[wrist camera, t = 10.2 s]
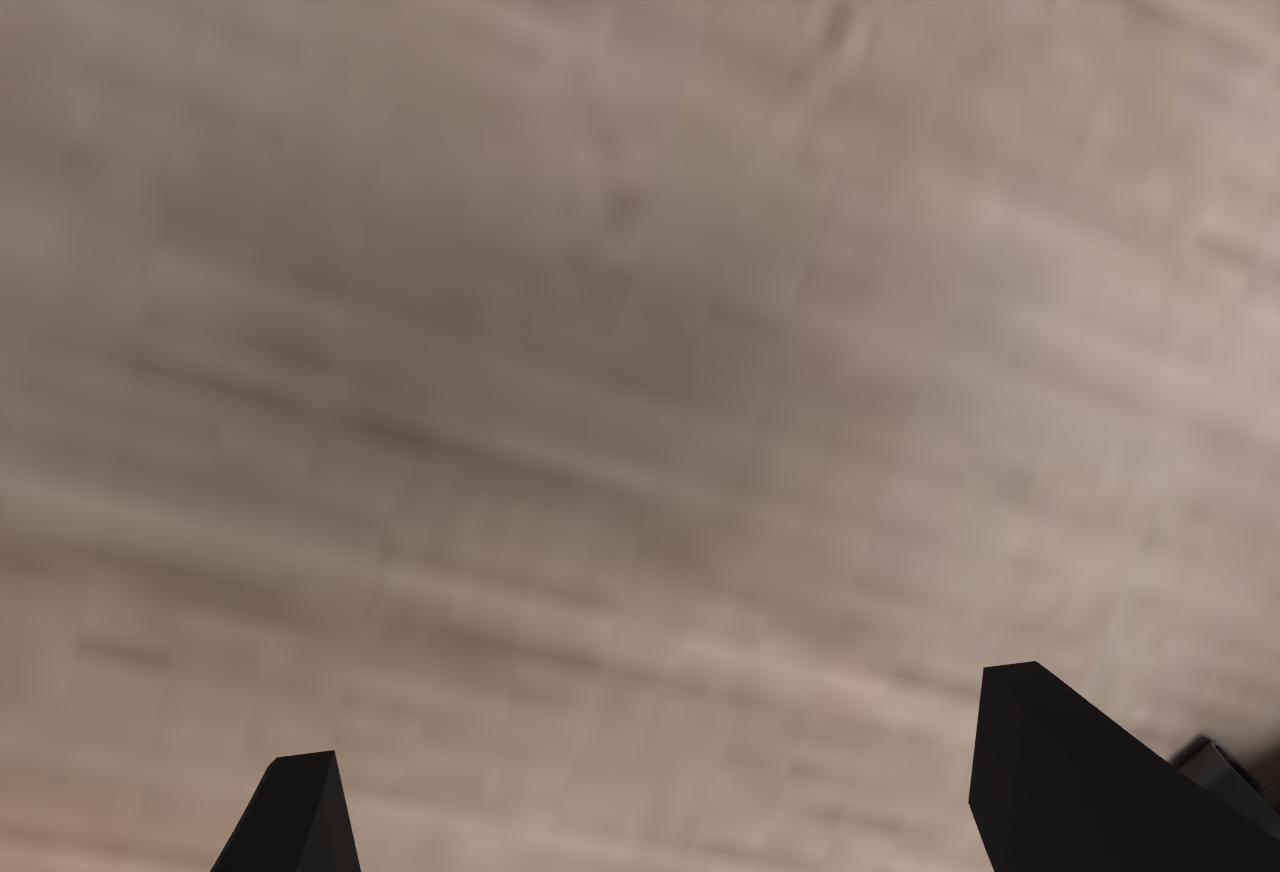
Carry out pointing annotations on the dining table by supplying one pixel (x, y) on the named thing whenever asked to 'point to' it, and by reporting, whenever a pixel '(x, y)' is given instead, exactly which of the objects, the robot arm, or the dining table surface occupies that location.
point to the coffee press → (1233, 786)
